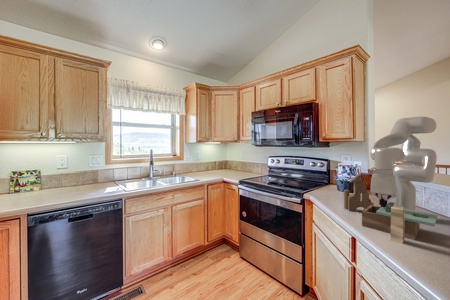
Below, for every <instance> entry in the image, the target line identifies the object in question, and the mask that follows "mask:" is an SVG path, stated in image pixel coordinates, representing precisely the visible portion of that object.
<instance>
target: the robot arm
mask: <svg viewBox="0 0 450 300" xmlns="http://www.w3.org/2000/svg"><path fill="white" fill-rule="evenodd" d="M436 129H437V122H436V120H435V119H434V118H433V117H432V118H431V117H428V116H414V117H412V116H411V117H403V118H400V119H397V120H396V121H395V123H394V124H393V126H392V129H391V131H390V133H389V134H387V135H386V136H385V135H384V136H383V137H382V138H379V139H378V140H376V142H374V144H373V145H372V147H371V151H370V156H369V157H370V158H371V160H373V161H374V168H370V169H371V170H370V172H373V173H372V175H371V179H370V180H371V181H370V195H373V196H376V197H377V198H378V199H379V200H378V206H379V205H380V207H383V208H385V207H386V205H387V204H388V200H389V199H392V198H394V199H393V200H394V201H393V202H394V206H397V207H402V208H405V209H409V210H415V211H416V210H417V209H416V208H417V207H416V205H417V204H416V203H417V201H416V200H417V199H416V198H417V196H416V195H417V188H416V186H415V185H414V184H413V182H418V183H423V184H424V183H426V184H427V183H432V182H433V181H434V178H435V171H436V165H437V159H438V158H437V157H438V156H437V153H436V151H435V149H432V148H421V144H422V143H421V140H420V139H419V138H418V137H417V136H415V135H414V134H432V133H434V132H435V131H436ZM399 145H400V148H399V147H395V146H399ZM399 162H400V163H401V164H396V165H394V163H399ZM383 195H384V197H383Z"/></svg>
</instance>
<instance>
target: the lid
mask: <svg viewBox="0 0 450 300" xmlns="http://www.w3.org/2000/svg"><path fill="white" fill-rule="evenodd" d="M392 206H394V201H393V202H392V201H389V202H387V205H386V207H385V208H383V207H381V206H380V207H381V208H380V209H378V210H377V211H376V214H379V215H384V216H388V217H391V207H392ZM416 216H418V217H416ZM405 220H406V221H411V222H416V223H420V225H426V226H429V227H435V226H436V223H437V220H438V214H436V213H431V212H425V211H419V210H418V211H415V210H409V209H405Z"/></svg>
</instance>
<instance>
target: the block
mask: <svg viewBox="0 0 450 300" xmlns="http://www.w3.org/2000/svg"><path fill="white" fill-rule="evenodd" d="M404 225H405V208H402V207H397V206H392V207H391V234H390V241H392V242H395V243H399V244H402V245H403V243H404V242H405V238H404Z"/></svg>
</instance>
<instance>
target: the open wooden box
mask: <svg viewBox="0 0 450 300" xmlns="http://www.w3.org/2000/svg"><path fill="white" fill-rule="evenodd" d="M380 208H381V206H379V205H378V206H377V205H370V206H369V207H367V208H366V209H365V210H364V209H363V210H362V212H361V227H363V228H368V229H372V230H375V231H379V232H383V233H386V234H390V235H391V217H388V216H384V215H379V214H376V211H377V210H378V209H380ZM416 217H418V216H416ZM420 225H421V224H420V223H416V222H411V221H406V220H405V225H404V239H408V240H412V241H415V240H416V238H417V236H418V234H419V232H420V228H421V227H420Z"/></svg>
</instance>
